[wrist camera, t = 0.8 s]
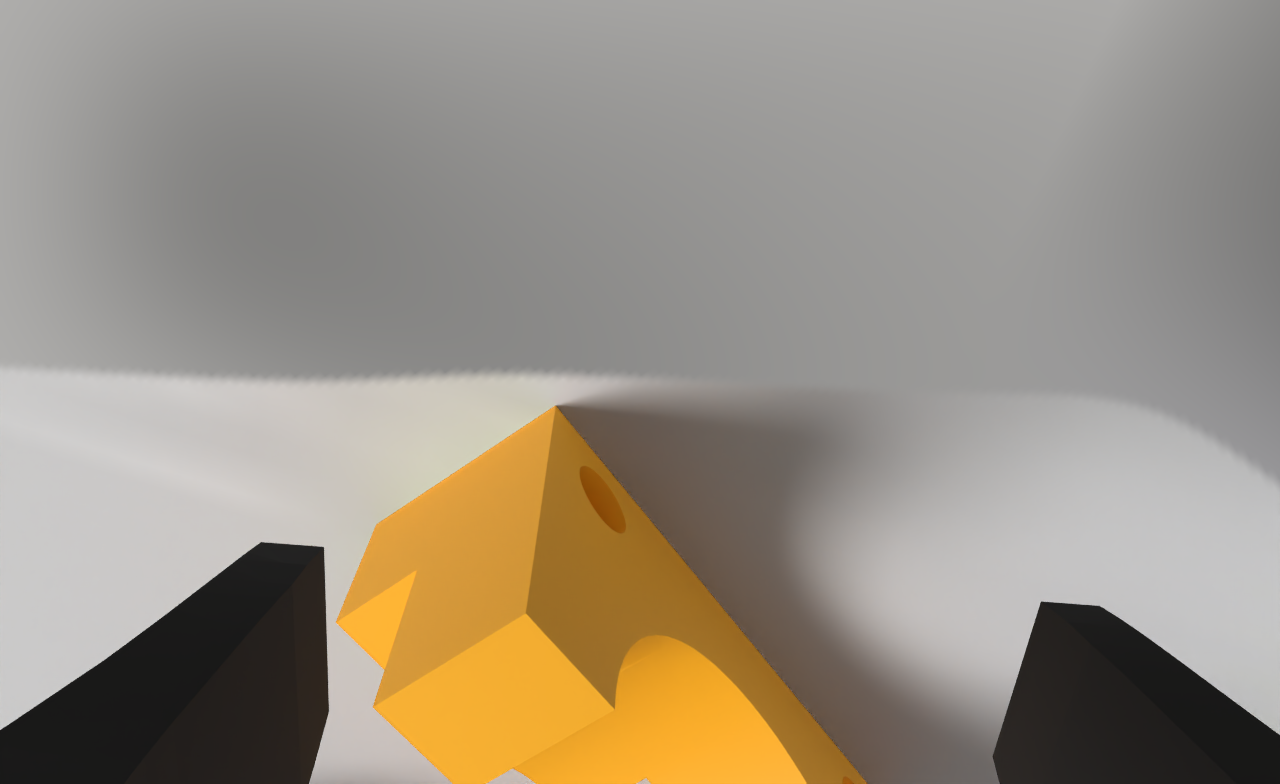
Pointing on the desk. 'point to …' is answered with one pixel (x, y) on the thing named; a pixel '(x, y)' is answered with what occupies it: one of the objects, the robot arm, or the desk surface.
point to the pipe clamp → (566, 636)
